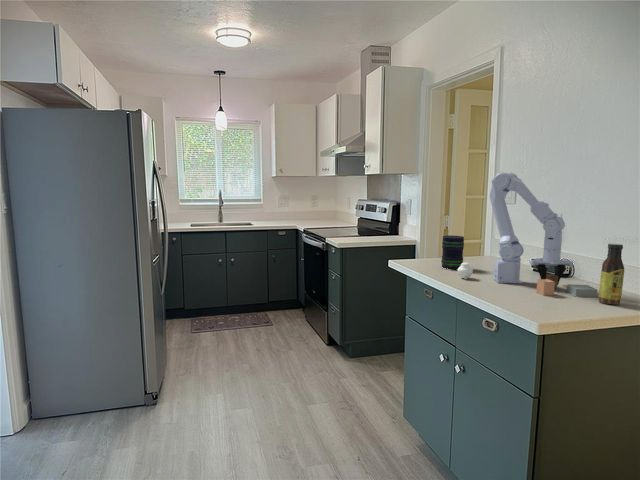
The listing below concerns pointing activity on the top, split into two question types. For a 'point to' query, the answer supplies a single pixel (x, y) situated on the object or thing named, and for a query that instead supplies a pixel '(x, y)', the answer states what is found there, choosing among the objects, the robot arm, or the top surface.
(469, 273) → the white rounded piece
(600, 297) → the sauce bottle
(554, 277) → the walnut block
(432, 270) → the top surface
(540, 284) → the terracotta block
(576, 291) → the pedestal block
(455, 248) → the storage jar
